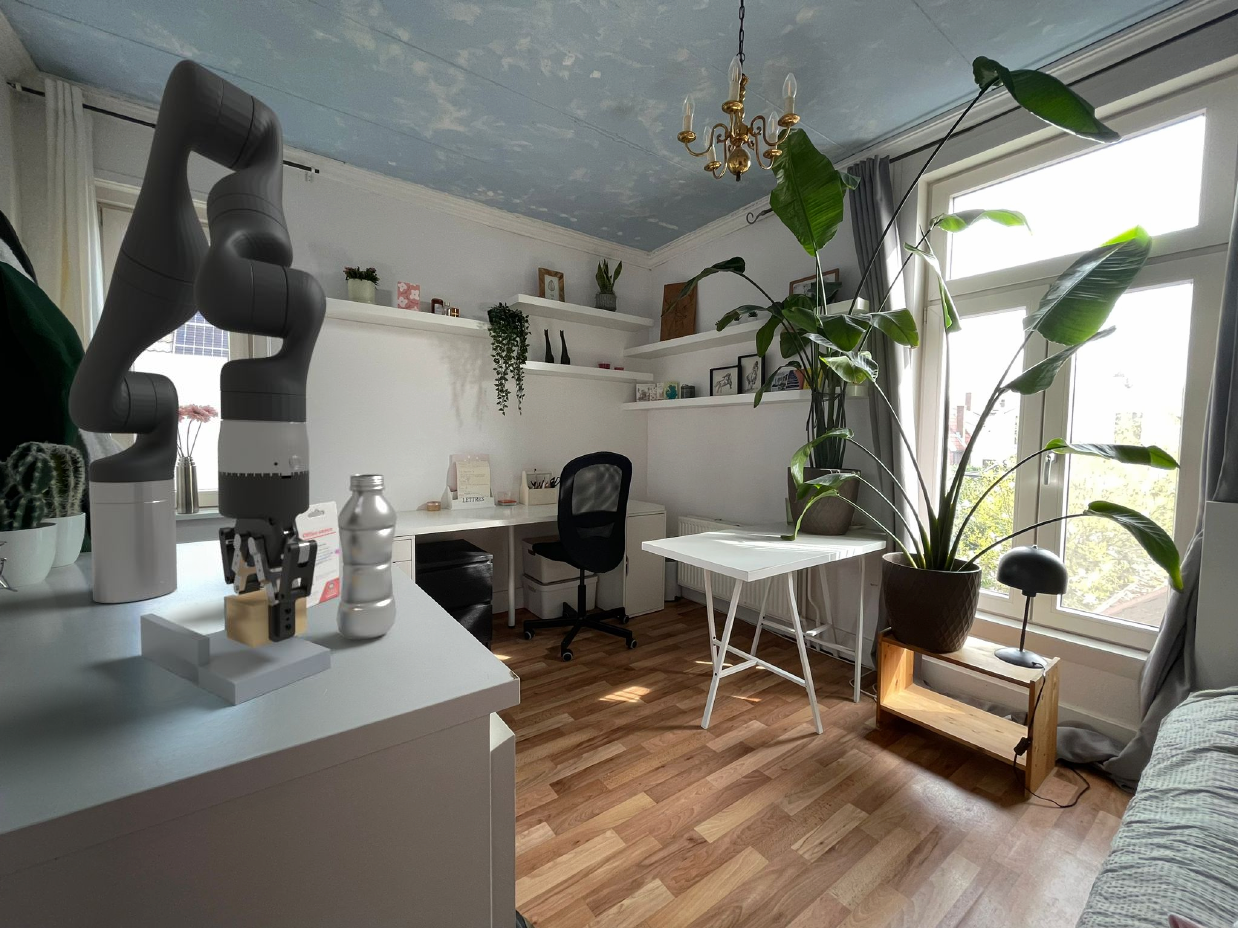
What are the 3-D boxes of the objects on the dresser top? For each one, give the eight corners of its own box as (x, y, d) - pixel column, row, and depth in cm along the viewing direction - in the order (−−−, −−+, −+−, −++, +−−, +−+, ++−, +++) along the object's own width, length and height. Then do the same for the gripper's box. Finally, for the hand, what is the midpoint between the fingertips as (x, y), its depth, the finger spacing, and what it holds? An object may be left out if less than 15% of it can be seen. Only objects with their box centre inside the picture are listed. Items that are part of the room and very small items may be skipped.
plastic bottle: (328, 635, 64) (327, 474, 62) (384, 621, 69) (383, 472, 67) (348, 651, 59) (347, 478, 58) (405, 635, 64) (405, 476, 63)
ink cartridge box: (312, 592, 80) (312, 498, 79) (340, 595, 79) (340, 500, 78) (264, 610, 72) (263, 506, 71) (295, 614, 71) (294, 508, 70)
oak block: (226, 637, 51) (226, 597, 51) (279, 621, 56) (279, 585, 56) (253, 648, 49) (253, 606, 49) (306, 631, 53) (306, 593, 53)
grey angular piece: (141, 655, 57) (140, 615, 56) (233, 629, 65) (233, 594, 64) (235, 705, 47) (234, 657, 47) (330, 667, 55) (330, 626, 55)
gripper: (185, 464, 51) (188, 629, 52) (263, 473, 45) (265, 664, 46) (266, 461, 58) (268, 608, 59) (345, 469, 51) (345, 636, 52)
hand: (266, 632), depth 52 cm, fingers closed on oak block, 5 cm apart
